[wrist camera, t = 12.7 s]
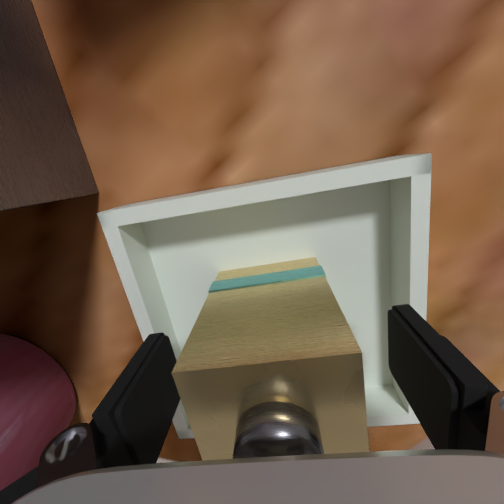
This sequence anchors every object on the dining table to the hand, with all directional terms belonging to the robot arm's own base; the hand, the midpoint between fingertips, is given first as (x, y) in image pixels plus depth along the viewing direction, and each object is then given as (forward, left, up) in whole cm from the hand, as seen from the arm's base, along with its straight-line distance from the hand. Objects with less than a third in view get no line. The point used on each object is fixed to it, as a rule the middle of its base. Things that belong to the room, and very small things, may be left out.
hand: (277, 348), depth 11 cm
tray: (0, 0, -4) cm, 4 cm away
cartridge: (0, 0, -3) cm, 3 cm away
